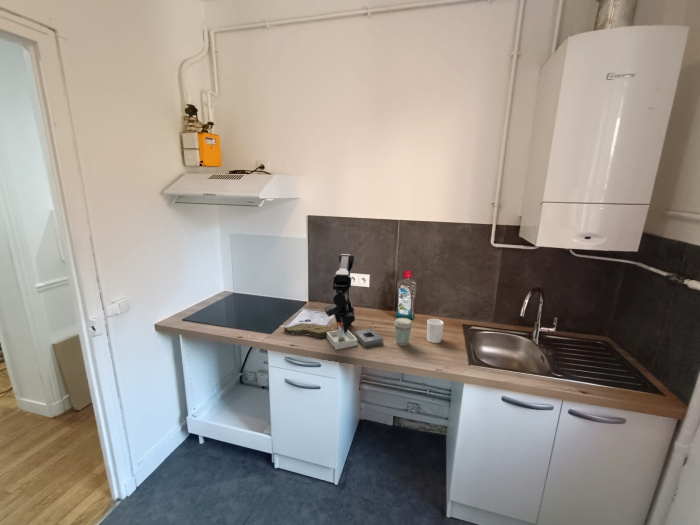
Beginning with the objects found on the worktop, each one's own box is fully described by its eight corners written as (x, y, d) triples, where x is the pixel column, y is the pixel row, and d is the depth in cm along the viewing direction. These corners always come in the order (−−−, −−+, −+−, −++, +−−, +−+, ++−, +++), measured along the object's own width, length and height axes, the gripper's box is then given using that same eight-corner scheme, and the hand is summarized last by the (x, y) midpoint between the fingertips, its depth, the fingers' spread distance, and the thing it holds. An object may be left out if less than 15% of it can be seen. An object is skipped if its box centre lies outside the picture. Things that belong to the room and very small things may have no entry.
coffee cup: (390, 340, 154) (391, 318, 151) (405, 338, 157) (406, 316, 154) (398, 348, 146) (400, 325, 143) (414, 346, 149) (415, 322, 146)
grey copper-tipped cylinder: (335, 339, 153) (336, 321, 151) (344, 337, 155) (344, 320, 153) (339, 343, 150) (339, 325, 148) (347, 341, 151) (347, 323, 149)
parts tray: (326, 337, 156) (326, 332, 156) (346, 334, 161) (346, 328, 160) (335, 349, 144) (335, 343, 144) (357, 345, 149) (357, 339, 148)
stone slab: (335, 328, 166) (334, 320, 164) (330, 342, 155) (329, 333, 153) (289, 326, 171) (287, 318, 169) (280, 339, 160) (279, 331, 158)
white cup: (431, 344, 150) (432, 325, 148) (423, 337, 158) (424, 319, 156) (445, 342, 153) (446, 324, 150) (436, 335, 160) (438, 318, 158)
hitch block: (354, 337, 157) (354, 331, 157) (371, 333, 161) (372, 328, 161) (364, 347, 147) (365, 341, 146) (383, 343, 151) (383, 338, 150)
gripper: (320, 294, 153) (320, 324, 156) (332, 307, 136) (332, 339, 139) (340, 292, 157) (340, 320, 161) (355, 304, 140) (355, 335, 144)
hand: (341, 328), depth 151 cm, fingers open, 9 cm apart
